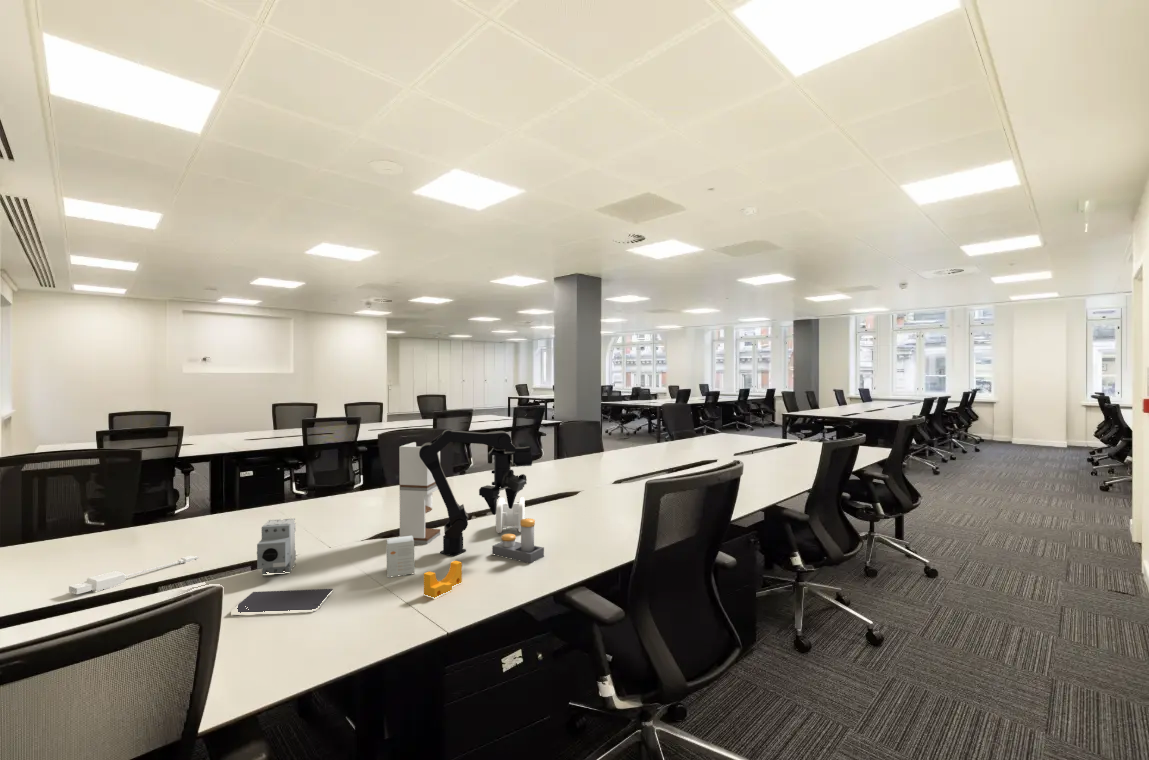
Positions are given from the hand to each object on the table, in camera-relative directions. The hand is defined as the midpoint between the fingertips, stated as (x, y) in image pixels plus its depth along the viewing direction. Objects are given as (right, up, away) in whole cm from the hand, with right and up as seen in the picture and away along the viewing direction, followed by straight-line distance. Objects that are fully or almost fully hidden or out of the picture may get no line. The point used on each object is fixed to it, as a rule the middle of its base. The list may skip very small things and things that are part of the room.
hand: (502, 511), depth 186 cm
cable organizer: (0, -13, +22) cm, 26 cm away
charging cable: (-107, -14, -26) cm, 111 cm away
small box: (-29, -14, -22) cm, 39 cm away
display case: (-32, -13, +11) cm, 36 cm away
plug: (+10, -13, -9) cm, 18 cm away
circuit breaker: (-66, -14, -23) cm, 72 cm away
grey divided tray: (+6, -13, -7) cm, 16 cm away
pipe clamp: (-12, -14, -35) cm, 39 cm away
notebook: (-53, -15, -44) cm, 70 cm away
